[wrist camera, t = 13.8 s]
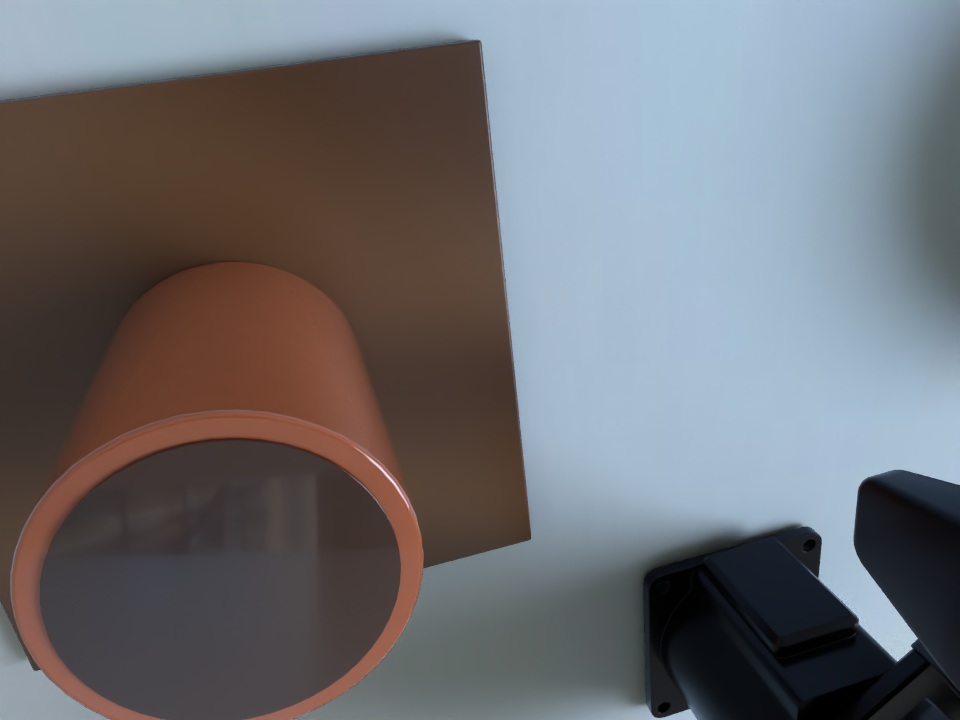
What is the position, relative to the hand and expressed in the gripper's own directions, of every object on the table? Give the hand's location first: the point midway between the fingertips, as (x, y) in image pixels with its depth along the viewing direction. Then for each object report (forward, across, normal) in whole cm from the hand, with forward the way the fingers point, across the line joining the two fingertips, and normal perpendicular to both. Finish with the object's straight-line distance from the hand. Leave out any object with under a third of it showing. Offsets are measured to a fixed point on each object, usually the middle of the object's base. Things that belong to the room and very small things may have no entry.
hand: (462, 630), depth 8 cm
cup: (+12, +3, +2) cm, 13 cm away
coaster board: (+13, +3, +2) cm, 14 cm away
